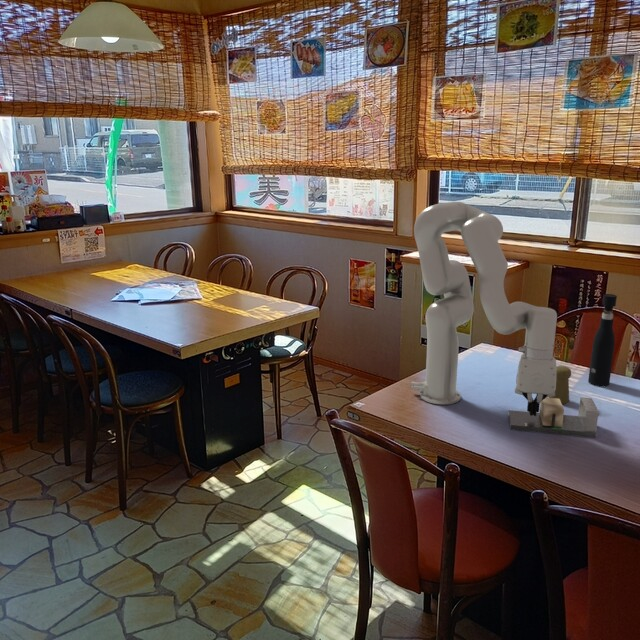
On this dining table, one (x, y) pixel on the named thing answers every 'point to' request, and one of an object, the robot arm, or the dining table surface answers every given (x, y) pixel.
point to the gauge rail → (571, 424)
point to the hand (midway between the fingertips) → (532, 413)
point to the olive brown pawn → (562, 384)
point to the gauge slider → (551, 412)
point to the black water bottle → (603, 345)
